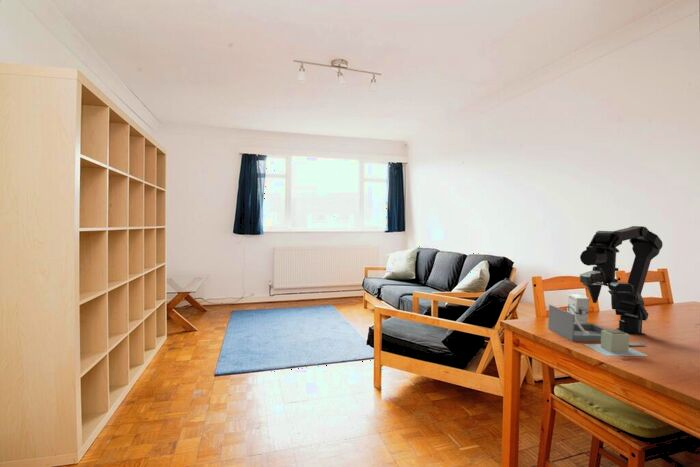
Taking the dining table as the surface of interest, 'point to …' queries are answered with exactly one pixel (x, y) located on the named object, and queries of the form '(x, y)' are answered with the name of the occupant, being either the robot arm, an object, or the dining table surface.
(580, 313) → the ink box
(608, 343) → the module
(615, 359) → the dining table surface
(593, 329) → the equipment case
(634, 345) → the rod
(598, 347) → the blue-grey flat plate
